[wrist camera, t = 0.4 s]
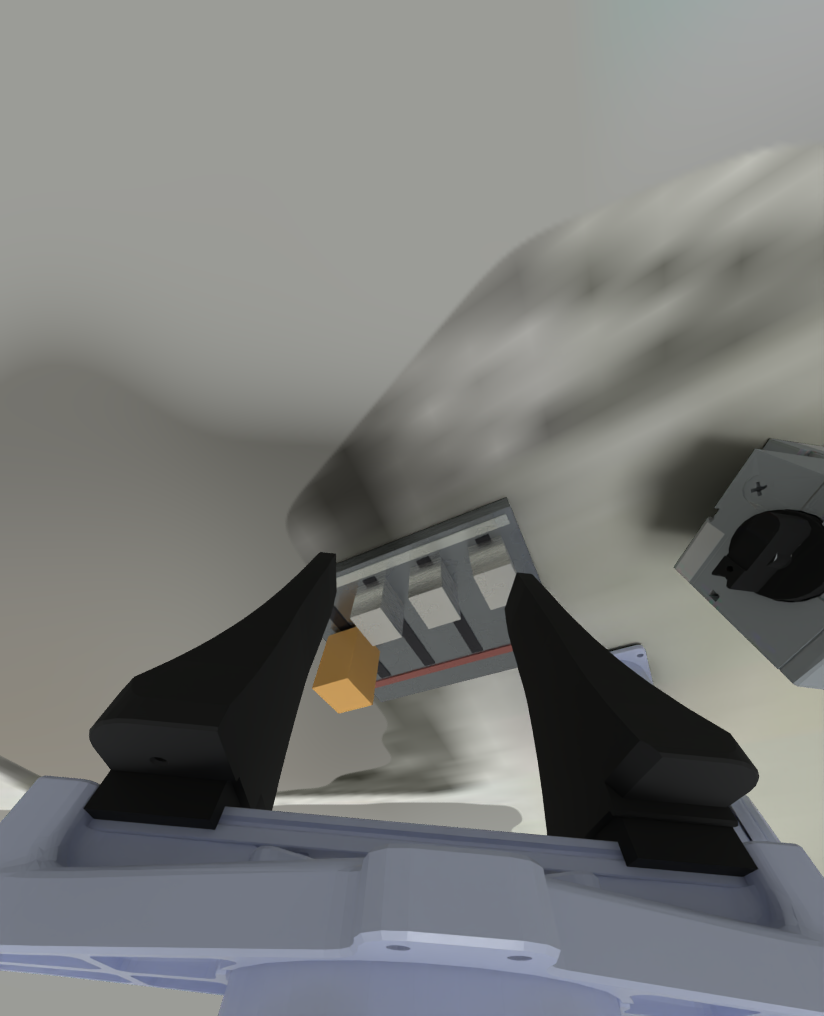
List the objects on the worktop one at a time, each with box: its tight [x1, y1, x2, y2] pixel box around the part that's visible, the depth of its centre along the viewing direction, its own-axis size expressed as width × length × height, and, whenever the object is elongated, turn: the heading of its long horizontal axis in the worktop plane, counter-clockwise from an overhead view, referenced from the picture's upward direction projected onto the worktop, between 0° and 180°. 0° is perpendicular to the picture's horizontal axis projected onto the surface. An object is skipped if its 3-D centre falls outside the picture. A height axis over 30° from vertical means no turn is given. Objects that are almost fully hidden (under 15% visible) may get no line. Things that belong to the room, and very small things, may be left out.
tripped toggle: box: [312, 627, 380, 713], centre depth 25 cm, size 4×3×4 cm
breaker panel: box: [322, 498, 541, 702], centre depth 26 cm, size 16×18×4 cm
